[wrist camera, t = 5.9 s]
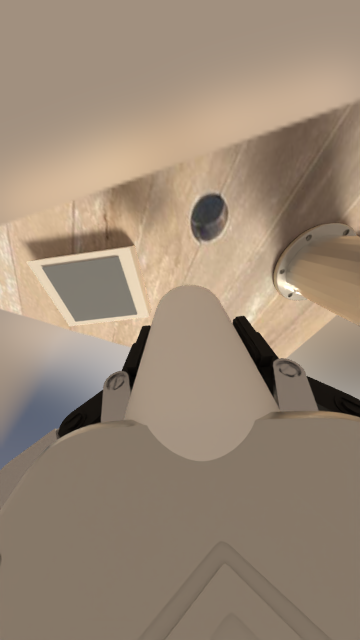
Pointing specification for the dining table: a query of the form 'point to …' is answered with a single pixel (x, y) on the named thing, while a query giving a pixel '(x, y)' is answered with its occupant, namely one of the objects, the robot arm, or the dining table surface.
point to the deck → (95, 285)
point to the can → (197, 378)
